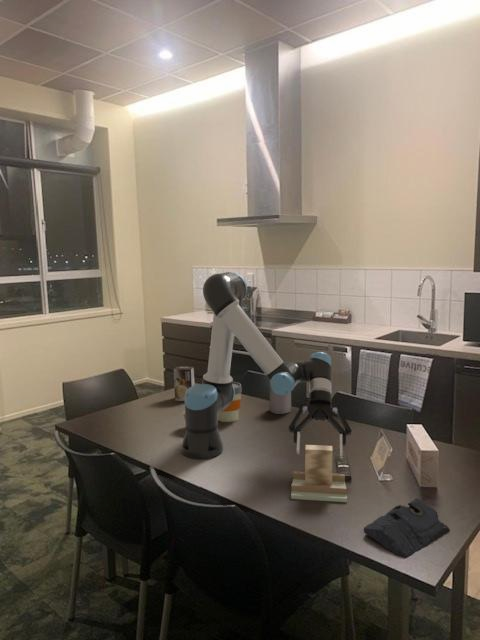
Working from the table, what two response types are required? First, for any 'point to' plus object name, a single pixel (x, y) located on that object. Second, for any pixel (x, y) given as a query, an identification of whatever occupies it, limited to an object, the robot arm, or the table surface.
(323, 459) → the tan upright rectangular block
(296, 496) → the groove board
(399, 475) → the table surface
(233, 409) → the reusable coffee cup
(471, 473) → the table surface
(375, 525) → the folded dark sweater
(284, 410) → the grey tin can
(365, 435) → the table surface
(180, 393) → the coffee box
